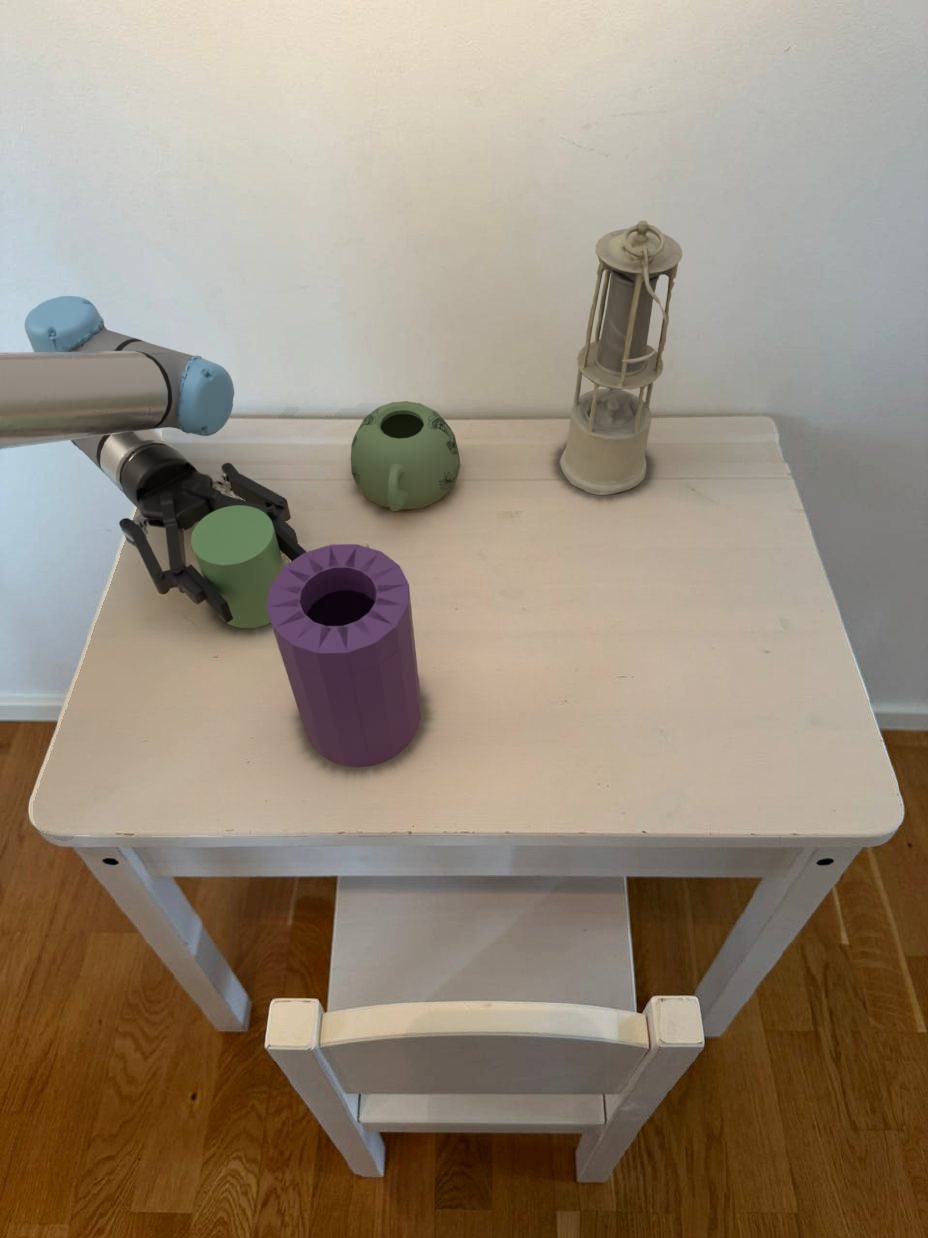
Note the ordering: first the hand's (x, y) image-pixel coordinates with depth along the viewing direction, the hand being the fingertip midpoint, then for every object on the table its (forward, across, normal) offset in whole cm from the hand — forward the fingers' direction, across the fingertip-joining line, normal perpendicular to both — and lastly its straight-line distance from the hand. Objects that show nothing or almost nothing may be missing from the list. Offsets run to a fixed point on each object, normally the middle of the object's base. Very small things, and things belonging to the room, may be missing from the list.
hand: (267, 586), depth 85 cm
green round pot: (-7, -23, -6) cm, 24 cm away
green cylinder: (-5, 0, -6) cm, 8 cm away
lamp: (+8, -42, -6) cm, 43 cm away
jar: (+15, 0, -6) cm, 16 cm away
